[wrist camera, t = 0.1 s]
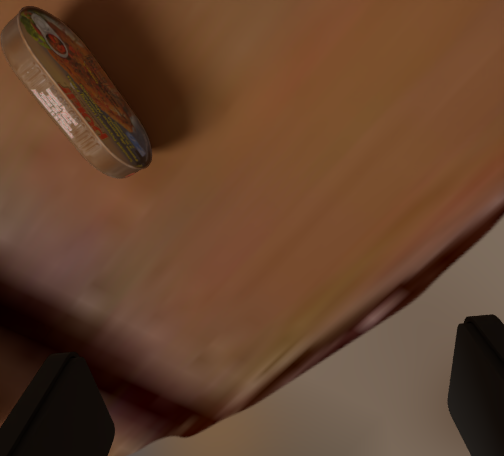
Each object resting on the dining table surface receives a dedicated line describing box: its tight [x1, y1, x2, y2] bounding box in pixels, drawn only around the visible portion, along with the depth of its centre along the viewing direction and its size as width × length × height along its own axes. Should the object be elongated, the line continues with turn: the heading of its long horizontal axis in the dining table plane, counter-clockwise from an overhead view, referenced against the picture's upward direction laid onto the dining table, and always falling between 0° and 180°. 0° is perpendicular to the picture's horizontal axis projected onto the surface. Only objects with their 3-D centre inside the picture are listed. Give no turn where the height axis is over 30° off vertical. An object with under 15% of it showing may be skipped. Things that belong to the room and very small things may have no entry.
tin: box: [1, 6, 152, 178], centre depth 33 cm, size 15×3×8 cm, turn 31°
